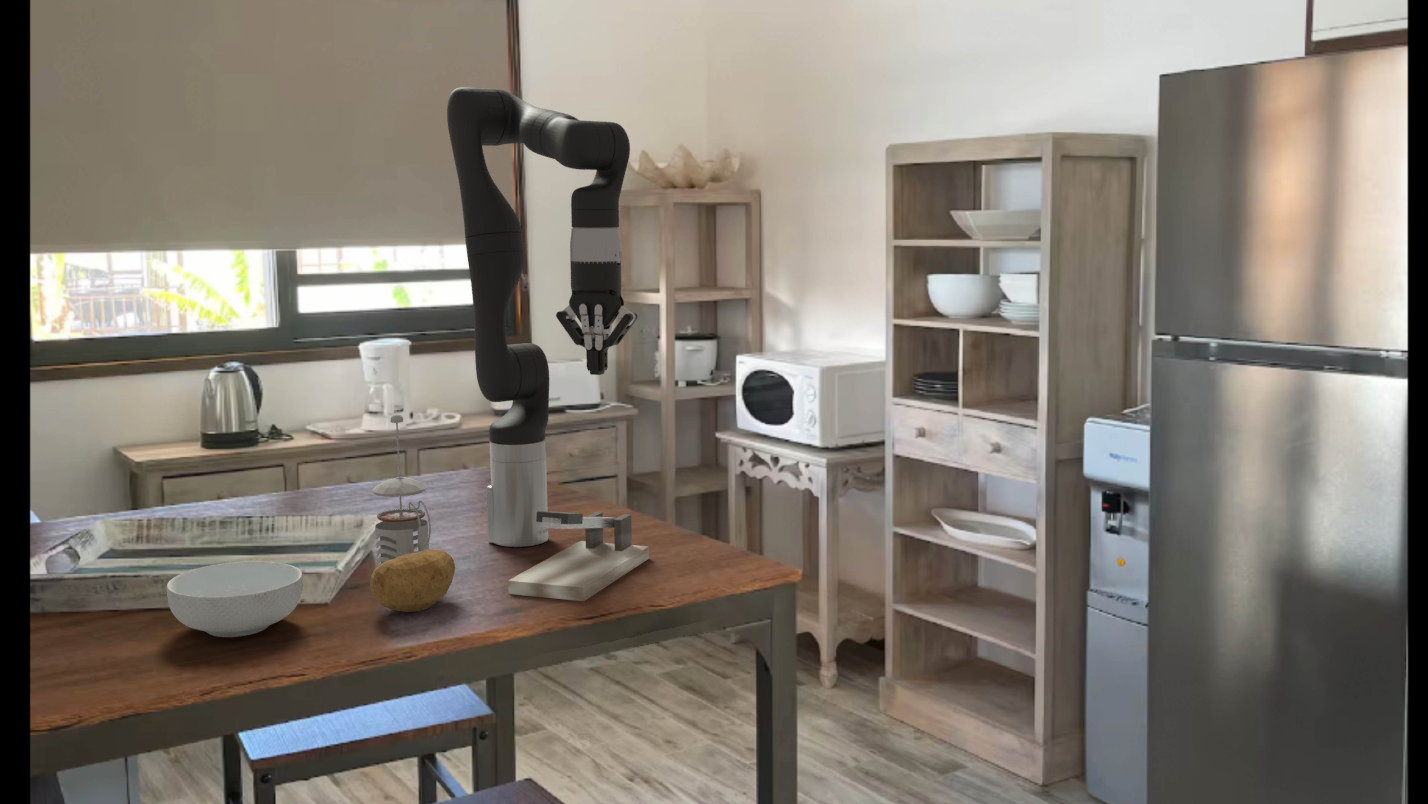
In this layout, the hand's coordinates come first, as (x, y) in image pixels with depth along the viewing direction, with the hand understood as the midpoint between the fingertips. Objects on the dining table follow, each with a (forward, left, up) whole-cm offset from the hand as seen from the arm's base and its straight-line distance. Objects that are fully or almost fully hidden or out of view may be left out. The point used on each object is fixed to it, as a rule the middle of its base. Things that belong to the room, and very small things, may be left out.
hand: (597, 374), depth 193 cm
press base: (-2, -3, -31) cm, 31 cm away
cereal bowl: (-35, -40, -31) cm, 62 cm away
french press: (-27, -12, -31) cm, 43 cm away
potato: (-17, -25, -31) cm, 43 cm away
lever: (-2, -3, -23) cm, 23 cm away
